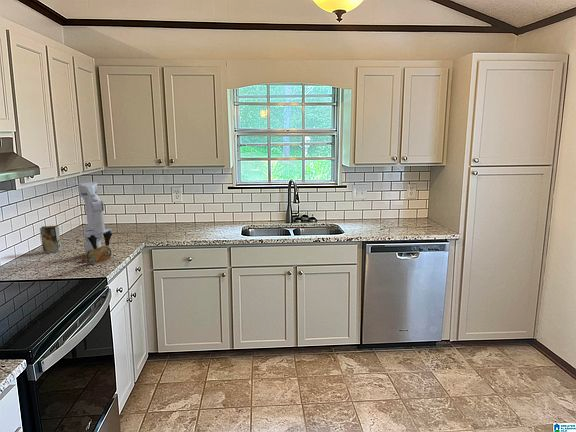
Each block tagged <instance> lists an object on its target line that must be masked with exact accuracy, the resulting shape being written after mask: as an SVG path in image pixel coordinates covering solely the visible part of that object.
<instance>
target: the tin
mask: <svg viewBox="0 0 576 432" xmlns="http://www.w3.org/2000/svg"><path fill="white" fill-rule="evenodd" d="M111 256H112V250H111V248H110V247H109V246H106V245H105V246H102V245H101V247H98V248H97V249H91V250H89V251H88V252H87V254H86V260H87V262H86V263H88V264H91V265H97V264H99V263H102V262H106V261H108V260H110V258H111Z"/></svg>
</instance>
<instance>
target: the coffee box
mask: <svg viewBox="0 0 576 432" xmlns="http://www.w3.org/2000/svg"><path fill="white" fill-rule="evenodd" d="M39 233H40V239H41V244H42V250H43V251H42V252H43V254H48V253H49V254H50V253H59V252H61V251H62V244H61V242H62V241H61V237H60V230H59V225H48V226H47V225H45V226H44V225H43V226H41V227H40V228H39Z"/></svg>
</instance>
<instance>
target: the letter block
mask: <svg viewBox="0 0 576 432" xmlns="http://www.w3.org/2000/svg"><path fill="white" fill-rule="evenodd" d="M86 254H87V253H85V252H83V253H81V254H80V255H81V261H82V262H84V263H88V262H87V260H86Z"/></svg>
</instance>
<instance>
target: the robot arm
mask: <svg viewBox="0 0 576 432" xmlns="http://www.w3.org/2000/svg"><path fill="white" fill-rule="evenodd" d="M77 189H78V196H79V197H81V198H83V200H84V207H85V214H86V220H87V223H86V224H87V225H85V226H84V227H83V239H84V241H85V242H84V251H85V252H84V253H87V252H88V251H89V250H91V249H97V248H98V247H102V243H101V241H102V239H103V238H104V244H105V246H107V247H109V246H110V241H111V238H112V235H113V229H112V228H111V227H110V228H105V226H106V225H105V220H104V219H105V218H104V209H105V207H104V202H103V200H101V199H100V197H99V195H98V189H99V188H98V183H97V182H96V181H90V182H89V181H88V182H78V183H77Z"/></svg>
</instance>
